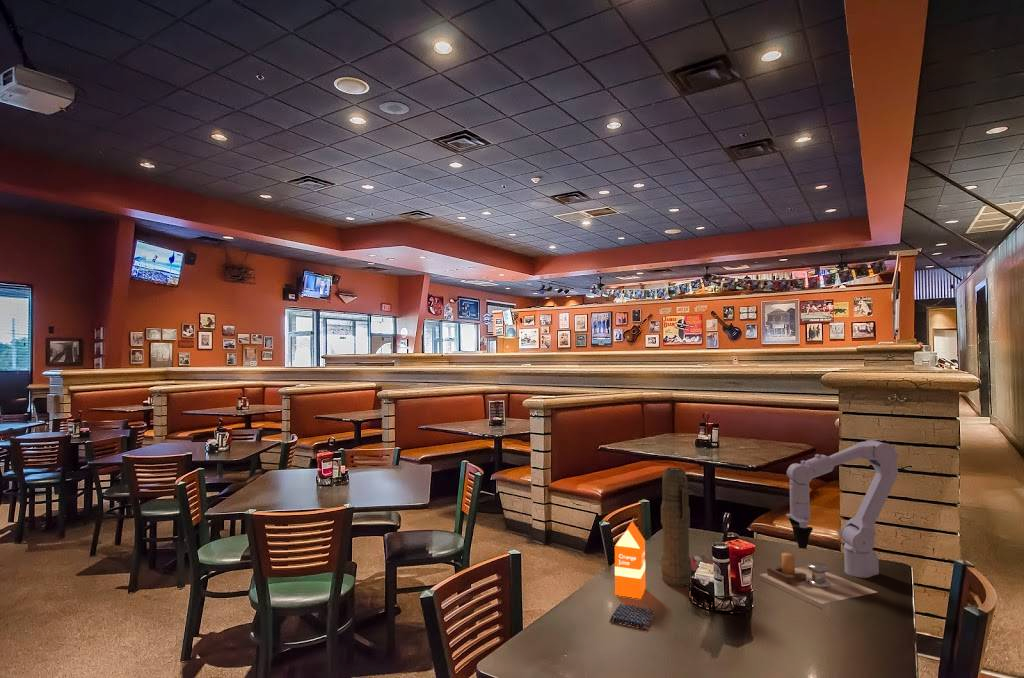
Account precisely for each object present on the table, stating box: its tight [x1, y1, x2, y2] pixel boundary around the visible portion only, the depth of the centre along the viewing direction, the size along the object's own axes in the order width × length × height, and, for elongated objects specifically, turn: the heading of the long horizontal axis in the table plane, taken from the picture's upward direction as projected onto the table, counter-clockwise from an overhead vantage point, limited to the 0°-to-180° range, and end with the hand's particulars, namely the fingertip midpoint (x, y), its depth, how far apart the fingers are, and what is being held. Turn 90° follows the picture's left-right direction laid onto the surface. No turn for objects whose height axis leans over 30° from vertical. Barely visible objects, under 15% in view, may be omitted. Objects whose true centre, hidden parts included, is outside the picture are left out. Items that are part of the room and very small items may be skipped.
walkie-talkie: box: [690, 554, 708, 577], centre depth 187 cm, size 9×4×20 cm
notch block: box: [766, 565, 806, 584], centre depth 176 cm, size 8×8×2 cm
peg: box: [781, 552, 796, 575], centre depth 176 cm, size 4×4×7 cm
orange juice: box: [614, 520, 646, 600], centre depth 170 cm, size 8×9×20 cm
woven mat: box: [608, 603, 655, 631], centre depth 152 cm, size 10×11×2 cm
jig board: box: [759, 565, 878, 610], centre depth 172 cm, size 22×23×2 cm
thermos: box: [660, 466, 692, 587], centre depth 178 cm, size 9×12×35 cm
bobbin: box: [806, 561, 831, 588], centre depth 171 cm, size 6×6×6 cm
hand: (800, 544), depth 182 cm, fingers open, 7 cm apart
